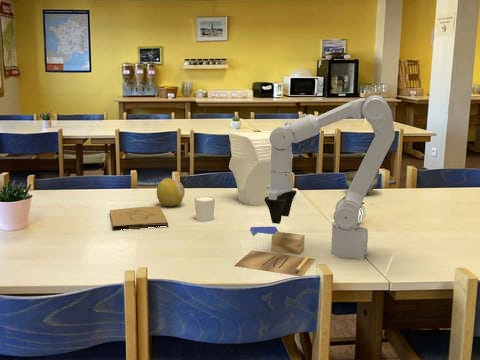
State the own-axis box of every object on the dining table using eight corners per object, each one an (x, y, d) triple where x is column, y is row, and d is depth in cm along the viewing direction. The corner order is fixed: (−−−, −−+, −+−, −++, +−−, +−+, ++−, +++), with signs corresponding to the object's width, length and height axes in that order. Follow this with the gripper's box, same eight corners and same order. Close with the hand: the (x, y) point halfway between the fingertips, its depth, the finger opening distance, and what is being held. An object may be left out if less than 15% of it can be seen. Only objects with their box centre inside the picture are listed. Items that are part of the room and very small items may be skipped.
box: (109, 214, 191) (109, 208, 190) (160, 211, 195) (159, 205, 195) (112, 232, 171) (111, 225, 170) (168, 228, 175) (168, 222, 175)
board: (315, 263, 144) (316, 259, 144) (302, 281, 132) (302, 276, 132) (251, 254, 151) (252, 250, 151) (233, 270, 139) (233, 265, 139)
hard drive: (283, 238, 162) (275, 226, 174) (255, 239, 161) (250, 226, 173) (283, 243, 162) (275, 230, 174) (255, 244, 161) (250, 231, 173)
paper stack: (224, 197, 215) (224, 131, 209) (288, 192, 223) (290, 129, 217) (240, 210, 195) (241, 139, 190) (310, 205, 203) (312, 136, 198)
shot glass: (219, 218, 185) (219, 198, 183) (204, 223, 180) (204, 202, 178) (205, 214, 189) (205, 195, 188) (190, 218, 185) (190, 198, 183)
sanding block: (303, 254, 152) (304, 235, 151) (299, 259, 148) (300, 239, 147) (276, 250, 155) (276, 231, 154) (271, 255, 151) (271, 236, 149)
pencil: (306, 258, 144) (307, 255, 144) (309, 258, 144) (309, 256, 144) (294, 273, 134) (294, 270, 134) (297, 273, 134) (297, 270, 134)
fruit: (167, 210, 194) (167, 183, 192) (151, 204, 202) (150, 178, 200) (191, 206, 201) (190, 179, 199) (174, 200, 209) (173, 174, 207)
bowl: (352, 188, 231) (353, 169, 230) (382, 192, 224) (384, 173, 222) (338, 194, 220) (338, 175, 219) (369, 199, 213) (370, 179, 211)
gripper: (275, 165, 156) (275, 211, 159) (257, 174, 143) (257, 224, 146) (299, 167, 153) (298, 214, 156) (283, 176, 140) (283, 227, 143)
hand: (280, 219), depth 151 cm, fingers open, 7 cm apart
